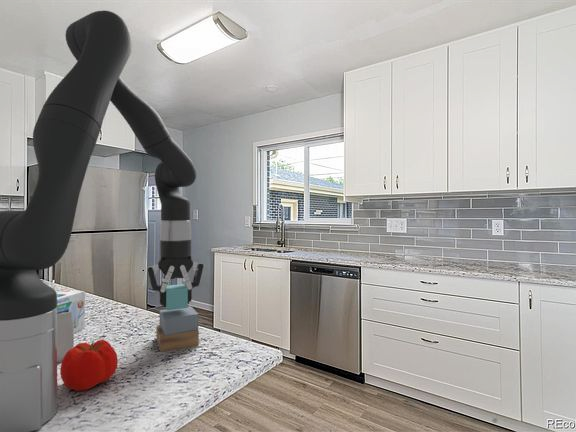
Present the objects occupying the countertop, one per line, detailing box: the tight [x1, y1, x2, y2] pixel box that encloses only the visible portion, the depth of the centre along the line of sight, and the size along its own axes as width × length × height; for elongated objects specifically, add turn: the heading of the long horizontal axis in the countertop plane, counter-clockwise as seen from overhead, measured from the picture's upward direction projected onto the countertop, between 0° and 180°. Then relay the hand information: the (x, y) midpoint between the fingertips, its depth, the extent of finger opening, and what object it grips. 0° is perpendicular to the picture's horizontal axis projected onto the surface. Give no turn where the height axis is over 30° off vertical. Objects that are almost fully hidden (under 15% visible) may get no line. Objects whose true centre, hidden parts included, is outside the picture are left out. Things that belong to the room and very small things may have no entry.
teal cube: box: [164, 283, 189, 310], centre depth 85 cm, size 5×5×5 cm
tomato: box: [59, 339, 119, 391], centre depth 65 cm, size 9×9×8 cm
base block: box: [155, 324, 200, 353], centre depth 85 cm, size 9×9×4 cm
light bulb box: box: [56, 289, 86, 334], centre depth 91 cm, size 11×7×11 cm, turn 168°
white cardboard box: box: [57, 312, 75, 363], centre depth 75 cm, size 4×7×10 cm, turn 137°
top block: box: [159, 305, 200, 335], centre depth 85 cm, size 8×8×4 cm
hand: (175, 304), depth 85 cm, fingers closed on teal cube, 5 cm apart
